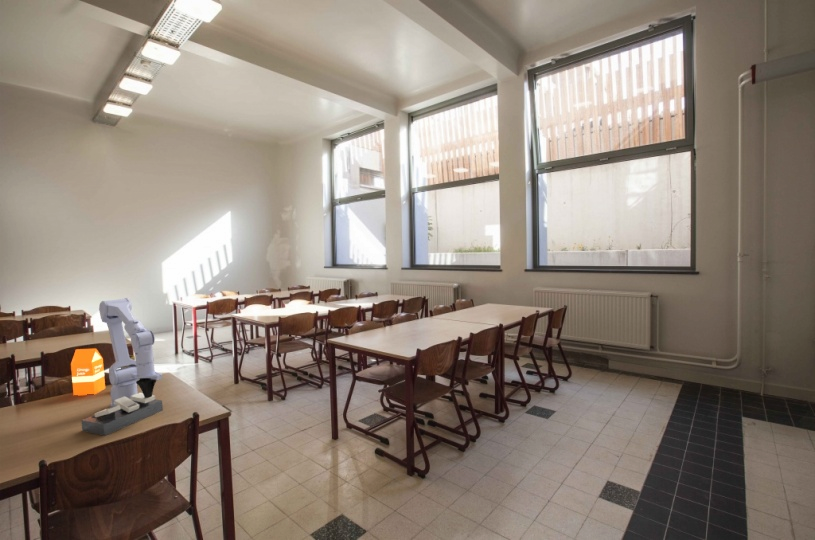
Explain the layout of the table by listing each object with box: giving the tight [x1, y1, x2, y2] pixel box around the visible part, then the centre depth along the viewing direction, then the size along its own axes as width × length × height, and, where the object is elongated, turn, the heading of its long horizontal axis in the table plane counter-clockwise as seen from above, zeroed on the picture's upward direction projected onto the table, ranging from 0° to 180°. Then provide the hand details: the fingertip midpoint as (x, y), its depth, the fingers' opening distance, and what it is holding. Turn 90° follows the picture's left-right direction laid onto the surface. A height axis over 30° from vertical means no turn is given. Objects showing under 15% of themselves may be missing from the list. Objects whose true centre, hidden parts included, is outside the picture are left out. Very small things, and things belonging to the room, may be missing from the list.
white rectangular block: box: [131, 391, 156, 403], centre depth 157 cm, size 8×4×2 cm, turn 70°
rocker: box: [94, 405, 121, 417], centre depth 145 cm, size 8×4×2 cm, turn 69°
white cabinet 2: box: [114, 396, 139, 413], centre depth 151 cm, size 8×4×2 cm, turn 70°
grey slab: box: [80, 398, 164, 437], centre depth 154 cm, size 12×26×5 cm, turn 160°
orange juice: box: [70, 348, 106, 396], centre depth 182 cm, size 8×9×20 cm
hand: (148, 396), depth 156 cm, fingers closed, pressing on white rectangular block
